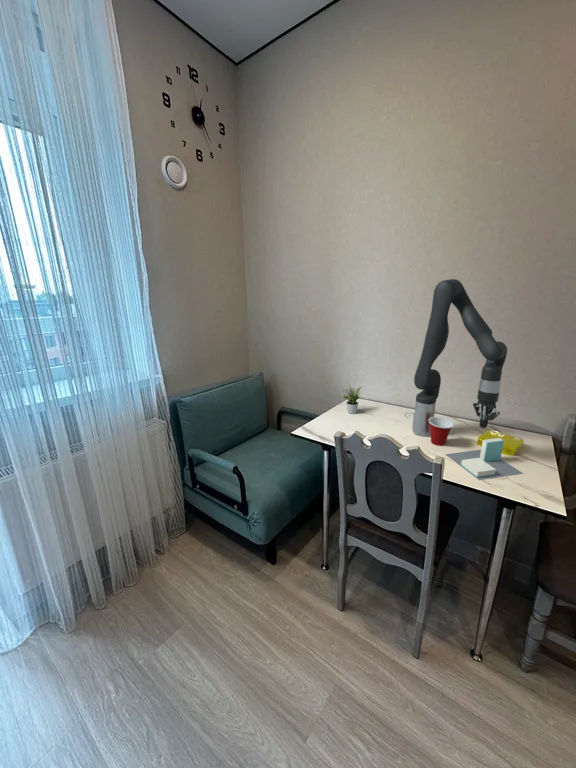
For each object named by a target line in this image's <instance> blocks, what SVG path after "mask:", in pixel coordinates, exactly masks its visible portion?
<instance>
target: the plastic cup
mask: <svg viewBox="0 0 576 768" xmlns="http://www.w3.org/2000/svg"><path fill="white" fill-rule="evenodd" d="M429 424H430V436H429V437H430V443H431V444H432V445H435V446H439V447H443V446H445V444H446V442H447V439H448V438H449V435H450V432H451V430H452V428H453V427H454V426H455V425H454V423H453V421H451V420H449V419H447V418H444V417H440V416H434V417H431V418H429Z"/></svg>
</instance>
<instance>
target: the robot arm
mask: <svg viewBox="0 0 576 768" xmlns="http://www.w3.org/2000/svg"><path fill="white" fill-rule="evenodd" d="M451 304H452V305H453V306H454V307H455V308H456V310H457V311H458V312H459V315H460V318H461V320H462V323H463V326H464V327H465V329H466V330H467V332H468V334H469V335H470V336H471V337H472V339H473V340H474V341H475V343H476V344H475V345H476V346H477V348H478V350H479V352H480V353H481V355H482V356H483V358H485V363H484V365H483V366H482V369H481V374H480V380H479V384H478V390H477V397H476V399H477V402H473V403H472V406H473V409H474V411H475V414H476V416H477V417H479V428H481V429H486V428H487V427H488V425H489V424H488V423H489V421H493V420H495V419H496V418H497V417H498V416H500V414H501V412H500V411H497V405H496V404H497V403H498V402H499V396H500V391H501V380H502V376H503V375H502V374H503V373H502V372H503V367H504V364H505V361H506V359H507V355H508V348H507V345H506V344H505V343H504V342H502V341H497V340H496V339H495V338H494V336H493V330H492V329H491V327H490V326H489V325H488V323H487V322H486V321H485V320H484V318H483V317H482V315H481V314H480V313H479V311H478V310H477V308H476V306H475V305H474V304H473V301H472V300H471V299H470V297H469V294H468V292H467V291H466V289H465V287H464V285H463V284H462V282H461V281H460V280H458V279H456V278H455V279H454V278H451V279H444V280H442V281H439V282H438V283H437V285H435V287H434V290H433V296H432V305H431V311H430V317H429V321H428V325H427V330H426V333H425V338H424V342H423V347H422V351H421V356H420V359H419V362H418V365H417V367H416V369H415V374H414V378H413V382H414V386H415V388H416V389H418V390H421V391H420V392H419V393H417V394H416V396H415V406H414V412H413V419H412V427H411V429H412V432H413V434H415V435H417V436H419V437H420V436H421V437H430V424H429V418H431V417H435V413H436V404H437V399H438V397H439V393H440V389H441V383H442V379H441V378H442V377H441V373H440V372H439V370H437V369H435V368H432V367H433V365H434V363H435V361H436V360H437V359H438V357H439V356H440V355H441V354H442V352H444V349H445V348H446V345H447V341H448V338H449V332H450V331H449V330H450V327H449V319H448V318H449V311H450V308H451Z"/></svg>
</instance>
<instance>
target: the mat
mask: <svg viewBox="0 0 576 768" xmlns="http://www.w3.org/2000/svg"><path fill="white" fill-rule="evenodd" d="M480 454H481V449H475V450H467V451H460V452H454V453H446V454H445V456H447V457H448V458H450V459H451V460H452V461H453V462H455V463H456V464H457V465H458V466H460V467H461V468H463V469H464V470H465V471H466V472H467V473H469V474H470V475H471V476H473V477H474V478H475V479H476V480H478V481H484V480H492V479H497V478H504V477H509V476H515V475H522V474H524V473H523V471H520V470H519V469H517V468H515V467H514V466H512V465H511V464H510V463H508V462H506V461H505V460H503V459H500V460H494V461H487V462H486V463H487V464H489V465H490V466H492V467H493V468H495V469H496V472H495V475H491V476H484V477H478V478H477V477H476V476H474V475H473V474H472V473H470V472H469V471H468V470H466V469H465V468H464V467H463V466H461V462H462V460H466V459H473V458H480Z"/></svg>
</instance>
